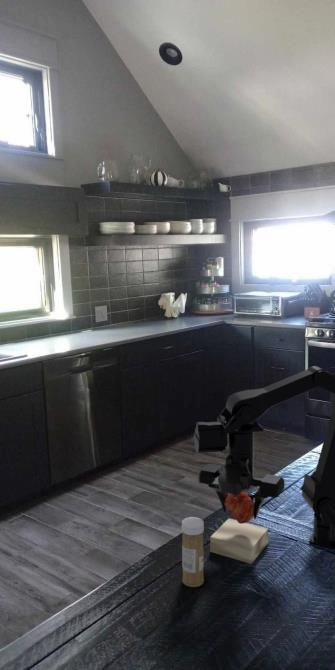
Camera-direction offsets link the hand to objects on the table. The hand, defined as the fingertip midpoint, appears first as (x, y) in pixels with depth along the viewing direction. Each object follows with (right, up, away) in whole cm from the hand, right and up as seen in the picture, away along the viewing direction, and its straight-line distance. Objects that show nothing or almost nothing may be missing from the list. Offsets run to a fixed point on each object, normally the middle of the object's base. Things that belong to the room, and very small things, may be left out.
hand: (240, 515), depth 130 cm
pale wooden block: (0, -8, +1) cm, 8 cm away
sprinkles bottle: (-11, -10, -12) cm, 19 cm away
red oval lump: (0, -2, 0) cm, 2 cm away
